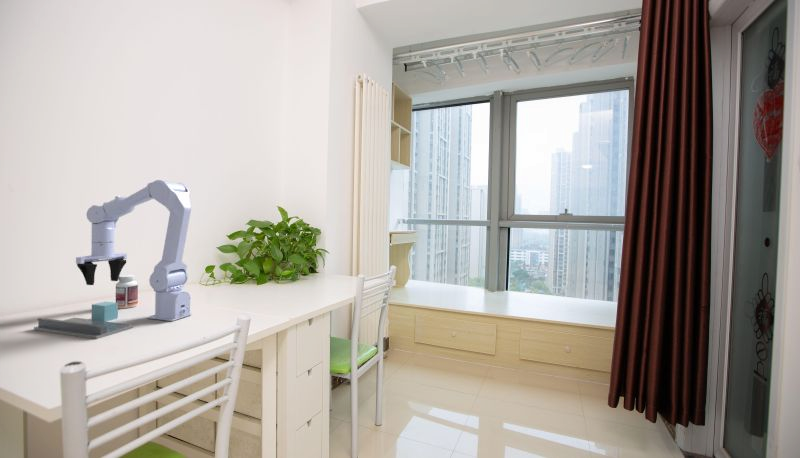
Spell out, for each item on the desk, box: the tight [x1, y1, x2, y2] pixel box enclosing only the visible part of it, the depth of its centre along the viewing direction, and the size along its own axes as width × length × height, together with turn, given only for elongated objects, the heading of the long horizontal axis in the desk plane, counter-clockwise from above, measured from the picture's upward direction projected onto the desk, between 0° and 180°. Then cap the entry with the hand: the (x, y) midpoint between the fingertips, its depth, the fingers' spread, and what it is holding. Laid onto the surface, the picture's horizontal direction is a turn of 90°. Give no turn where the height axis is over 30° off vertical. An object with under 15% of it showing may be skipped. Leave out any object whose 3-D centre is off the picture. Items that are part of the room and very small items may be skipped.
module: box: [91, 301, 119, 322], centre depth 108 cm, size 5×4×5 cm
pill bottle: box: [115, 274, 139, 309], centre depth 122 cm, size 6×6×11 cm
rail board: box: [33, 317, 134, 340], centre depth 98 cm, size 22×10×3 cm, turn 78°
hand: (102, 282), depth 115 cm, fingers open, 7 cm apart
